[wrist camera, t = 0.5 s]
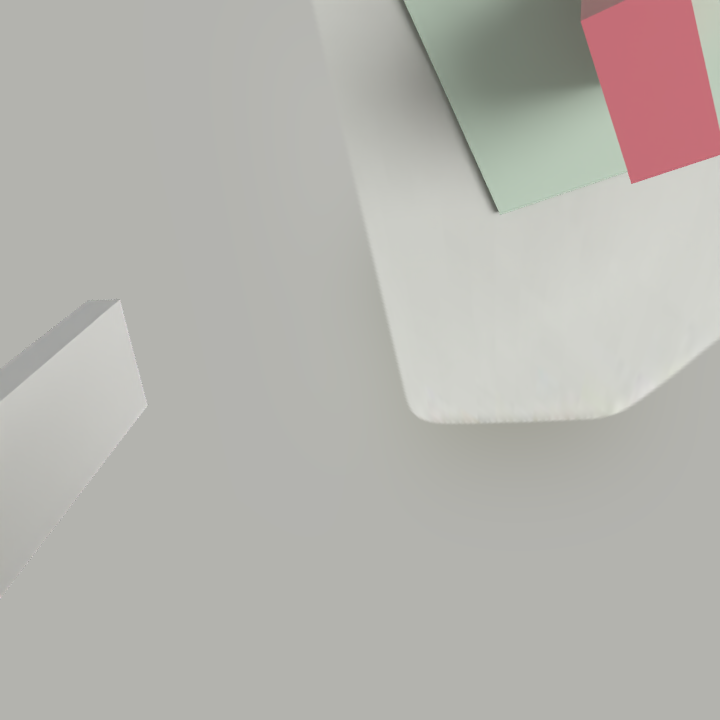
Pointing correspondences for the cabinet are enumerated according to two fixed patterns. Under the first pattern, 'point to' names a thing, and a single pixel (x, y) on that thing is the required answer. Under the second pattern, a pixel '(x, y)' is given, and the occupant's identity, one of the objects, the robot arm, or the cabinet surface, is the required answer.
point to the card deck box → (653, 82)
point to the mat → (533, 91)
